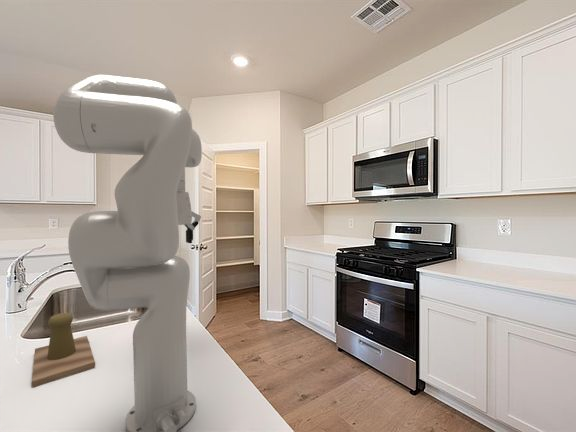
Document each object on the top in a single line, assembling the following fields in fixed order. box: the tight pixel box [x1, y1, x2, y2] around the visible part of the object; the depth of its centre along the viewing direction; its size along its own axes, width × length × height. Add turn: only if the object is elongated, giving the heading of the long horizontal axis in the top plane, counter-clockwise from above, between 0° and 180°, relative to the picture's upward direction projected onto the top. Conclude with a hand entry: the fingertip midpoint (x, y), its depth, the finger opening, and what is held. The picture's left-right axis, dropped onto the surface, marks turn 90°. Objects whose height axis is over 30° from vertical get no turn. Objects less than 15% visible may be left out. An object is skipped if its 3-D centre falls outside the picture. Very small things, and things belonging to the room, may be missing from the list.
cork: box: [47, 312, 76, 360], centre depth 75 cm, size 6×6×11 cm
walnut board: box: [31, 335, 96, 389], centre depth 75 cm, size 20×12×2 cm, turn 41°
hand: (173, 244), depth 83 cm, fingers open, 9 cm apart
